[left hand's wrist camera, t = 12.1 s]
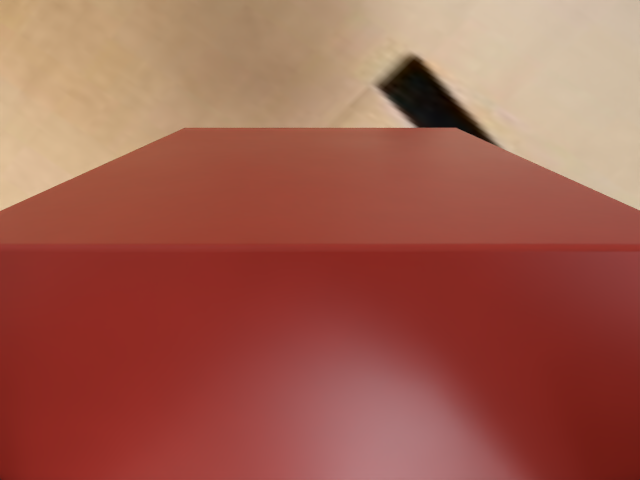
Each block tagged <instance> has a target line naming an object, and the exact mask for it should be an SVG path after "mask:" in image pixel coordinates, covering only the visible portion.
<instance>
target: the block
mask: <svg viewBox="0 0 640 480" xmlns="http://www.w3.org/2000/svg"><path fill="white" fill-rule="evenodd" d="M0 480H640V211H639V210H637V209H635V208H633V207H630V206H628V205H626V204H624V203H622V202H619V201H617V200H615V199H613V198H610V197H608V196H606V195H604V194H602V193H599V192H597V191H595V190H593V189H590V188H588V187H586V186H584V185H582V184H579V183H577V182H575V181H573V180H570V179H568V178H566V177H564V176H562V175H559V174H557V173H555V172H553V171H550V170H548V169H546V168H544V167H542V166H539V165H537V164H535V163H533V162H530V161H528V160H526V159H524V158H522V157H519V156H517V155H515V154H513V153H510V152H508V151H506V150H504V149H502V148H499V147H497V146H495V145H493V144H490V143H488V142H486V141H484V140H482V139H479V138H477V137H475V136H473V135H470V134H468V133H466V132H464V131H462V130H459V129H457V128H184V129H181V130H179V131H177V132H175V133H172V134H170V135H168V136H166V137H164V138H161V139H159V140H157V141H155V142H153V143H150V144H148V145H146V146H144V147H141V148H139V149H137V150H135V151H133V152H130V153H128V154H126V155H124V156H122V157H119V158H117V159H115V160H113V161H110V162H108V163H106V164H104V165H102V166H99V167H97V168H95V169H93V170H90V171H88V172H86V173H84V174H82V175H79V176H77V177H75V178H73V179H71V180H68V181H66V182H64V183H62V184H59V185H57V186H55V187H53V188H51V189H48V190H46V191H44V192H42V193H39V194H37V195H35V196H33V197H31V198H28V199H26V200H24V201H22V202H20V203H17V204H15V205H13V206H11V207H8V208H6V209H4V210H2V211H0Z"/></svg>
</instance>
